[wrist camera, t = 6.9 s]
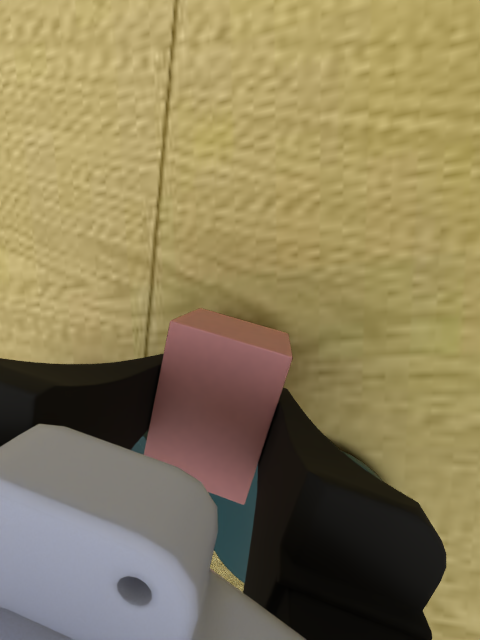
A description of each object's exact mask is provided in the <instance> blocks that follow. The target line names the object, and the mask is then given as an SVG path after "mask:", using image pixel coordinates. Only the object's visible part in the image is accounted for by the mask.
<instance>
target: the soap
mask: <svg viewBox="0 0 480 640" xmlns="http://www.w3.org/2000/svg"><path fill="white" fill-rule="evenodd" d="M292 359H293V357H292V352H291V346H290V341H289V335H288V333H285V332H282V331H278V330H275V329H271V328H268V327H264V326H261V325H258V324H254V323H251V322H247V321H244V320H240V319H237V318H233V317H230V316H226V315H223V314H219V313H216V312H213V311H209V310H206V309H202V308H199V309H197V310H194V311H192V312H190V313H187V314H185V315H183V316H180V317H178V318H176V319H173V320H171V321H170V324H169V330H168V335H167V340H166V345H165V350H164V355H163V360H162V365H161V370H160V375H159V380H158V385H157V390H156V395H155V400H154V405H153V410H152V415H151V421H150V426H149V431H148V436H147V441H146V446H145V451H144V455H146V456H148V457H151V458H154V459H157V460H159V461H162V462H165V463H168V464H170V465H173V466H176V467H178V468H180V469H181V470H183V471H185V472H186V473H188V474H189V475H191V476H193V477H194V478H196V479H197V480H199V481H200V482H201V483H202V484H203V485H204V487H205V489H206V490H207V492H210V493H212V494H215V495H218V496H221V497H223V498H226V499H229V500H232V501H234V502H237V503H240V504H242V505H244V504H245V502H246V499H247V496H248V493H249V489H250V486H251V483H252V480H253V477H254V474H255V471H256V468H257V465H258V462H259V459H260V456H261V453H262V450H263V447H264V444H265V441H266V438H267V435H268V432H269V429H270V426H271V423H272V420H273V416H274V413H275V410H276V407H277V404H278V401H279V398H280V395H281V392H282V389H283V386H284V383H285V380H286V377H287V374H288V371H289V368H290V365H291V362H292Z"/></svg>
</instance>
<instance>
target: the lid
mask: <svg viewBox="0 0 480 640" xmlns="http://www.w3.org/2000/svg"><path fill="white" fill-rule="evenodd" d="M342 452H343V451H342ZM343 453H344V454H346V455H347V456H348V457H349V458H351V459H352V460H353V461H354V462H356V463H357V464H358V465H360V466H361V467H362V468H364V469H365V470H367V471H368V472H370V473H371V474H372V475H374V476H375V477H377V478H378V479H380V478H379V477H378V476H377V475H376V474H375V472H374V471H372V470H371V469H370V468H369V467H367V466H366V465H365V464H364V463H362V462H361V461H359V460H358V459H356V458H355V457H353V456H351V455H349V454H347V453H345V452H343ZM257 478H258V465H257V468H256V471H255V474H254V477H253V480H252V483H251V486H250V489H249V493H248V496H247V499H246V502H245V504H244V505H242V504H240V503H237V502H234V501H232V500H229V499H226V498H223V497H221V496H218V495H215V494H212V493H210V492H208V493H209V495H210V496H211V498H212V500H213V501H214V503H215V504H216V506H217V514H218V534H217V538H216V542H215V547H214V550H215V552H216V554H217V555H218V557H219V558H220V560H221V561H222V562H223V564H224V565H225V566H226V567H227V568H228V569H229V570H230V571H231V572H232V573H233V574H234V575H235V576H236V577H237V578H238V579H240V580H241V581H242V582H243V583H245V577H246V571H247V564H248V557H249V550H250V543H251V536H252V529H253V521H254V514H255V506H256V497H257ZM380 480H381V479H380ZM381 481H382V480H381Z"/></svg>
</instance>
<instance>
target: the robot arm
mask: <svg viewBox="0 0 480 640" xmlns="http://www.w3.org/2000/svg"><path fill="white" fill-rule="evenodd" d="M163 355H164V354H160V355H155V356H150V357H145V358H140V359H134V360H128V361H121V362H114V363H102V364H47V363H34V362H24V361H17V360H9V359H1V358H0V640H432V632H431V630H430V627H429V625H428V623H427V620H426V618H425V616H424V613H423V609H424V607H425V606H426V604H427V603H428V601H429V599H430V598H431V596H432V595H433V593H434V591H435V590H436V588H437V586H438V585H439V583H440V581H441V579H442V576H443V574H444V571H445V569H446V552H445V549H444V546H443V543H442V540H441V539H440V537H439V536H438V534H437V532H436V531H435V529H434V527H433V526H432V524H431V523H430V521H429V519H428V518H427V516H426V514H425V513H424V511H423V510H422V508H421V506H420V505H419V503H418V502H416V501H414V500H413V499H411V498H409V497H408V496H406V495H404V494H403V493H401V492H399V491H398V490H396V489H394V488H393V487H391V486H389V485H388V484H386V483H384V482H383V481H381V480H380V479H378V478H377V477H375V476H374V475H372V474H371V473H370V472H368V471H367V470H365V469H364V468H362V467H361V466H360V465H358V464H357V463H356V462H354V461H353V460H352V459H351V458H349V457H348V456H347V455H346V454H344V453H343V452H342V451H341V450H340V449H338V448H337V447H336V446H335V445H334V444H333V443H332V442H331V441H330V440H329V439H328V438H327V437H326V436H325V435H323V434H322V433H321V432H320V430H319V429H318V428H317V427H316V426H315V425H314V424H313V423H312V421H311V420H310V419H309V418H308V417H307V415H306V414H305V413H304V412H303V410H302V409H301V408H300V406H299V405H298V404H297V402H296V401H295V399H294V398H293V397H292V395H291V394H290V392H289V391H288V390H287V389H286V388H283V389H282V392H281V395H280V398H279V401H278V404H277V407H276V410H275V413H274V416H273V420H272V423H271V426H270V429H269V432H268V435H267V438H266V441H265V444H264V447H263V450H262V453H261V456H260V459H259V462H258V478H257V497H256V506H255V514H254V521H253V529H252V536H251V543H250V550H249V557H248V564H247V571H246V577H245V584H244V591H243V592H241V591H240V590H239V589H237V588H236V587H235V586H233V585H232V584H231V583H229V582H228V581H227V580H225V579H224V578H223V577H221V576H220V575H218V574H217V573H216V572H214V571H213V570H212V569H210V564H211V560H212V555H213V551H214V547H215V542H216V538H217V534H218V514H217V506H216V504H215V503H214V501H213V500H212V498H211V496H210V495H209V493H208V492H207V490H206V489H205V487H204V485H203V484H202V483H201V482H200V481H199V480H197V479H196V478H194V477H193V476H191V475H189V474H188V473H186V472H185V471H183V470H181V469H180V468H178V467H176V466H173V465H170V464H168V463H165V462H162V461H159V460H157V459H154V458H151V457H148V456H146V455H143V454H140V453H137V452H134V451H132V450H131V449H132V448H133V447H134V445H135V444H136V443H137V442H138V441H139V440H140V438H141V437H142V436H143V435H144V434H145V433H146V432H147V430H148V429H149V426H150V421H151V415H152V410H153V405H154V400H155V395H156V390H157V385H158V380H159V375H160V370H161V365H162V360H163Z"/></svg>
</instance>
